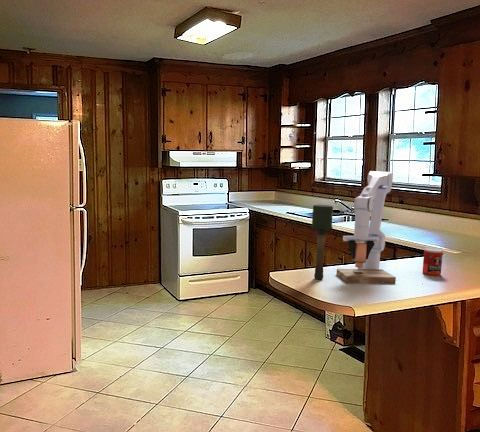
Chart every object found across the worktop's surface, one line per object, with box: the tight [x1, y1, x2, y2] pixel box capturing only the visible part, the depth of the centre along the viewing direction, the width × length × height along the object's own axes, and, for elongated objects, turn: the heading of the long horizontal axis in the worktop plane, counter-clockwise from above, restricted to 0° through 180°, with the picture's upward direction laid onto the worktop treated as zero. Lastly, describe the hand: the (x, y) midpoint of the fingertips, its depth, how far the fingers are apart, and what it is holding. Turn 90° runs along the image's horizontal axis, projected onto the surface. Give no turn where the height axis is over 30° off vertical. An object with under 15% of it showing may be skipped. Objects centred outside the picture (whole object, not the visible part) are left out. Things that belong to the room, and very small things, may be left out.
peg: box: [352, 241, 367, 269], centre depth 214 cm, size 5×5×10 cm
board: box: [336, 268, 397, 284], centre depth 216 cm, size 14×20×2 cm
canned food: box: [422, 247, 444, 277], centre depth 230 cm, size 8×8×11 cm
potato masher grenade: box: [310, 204, 334, 281], centre depth 211 cm, size 8×9×30 cm
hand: (359, 258), depth 215 cm, fingers closed on peg, 5 cm apart
